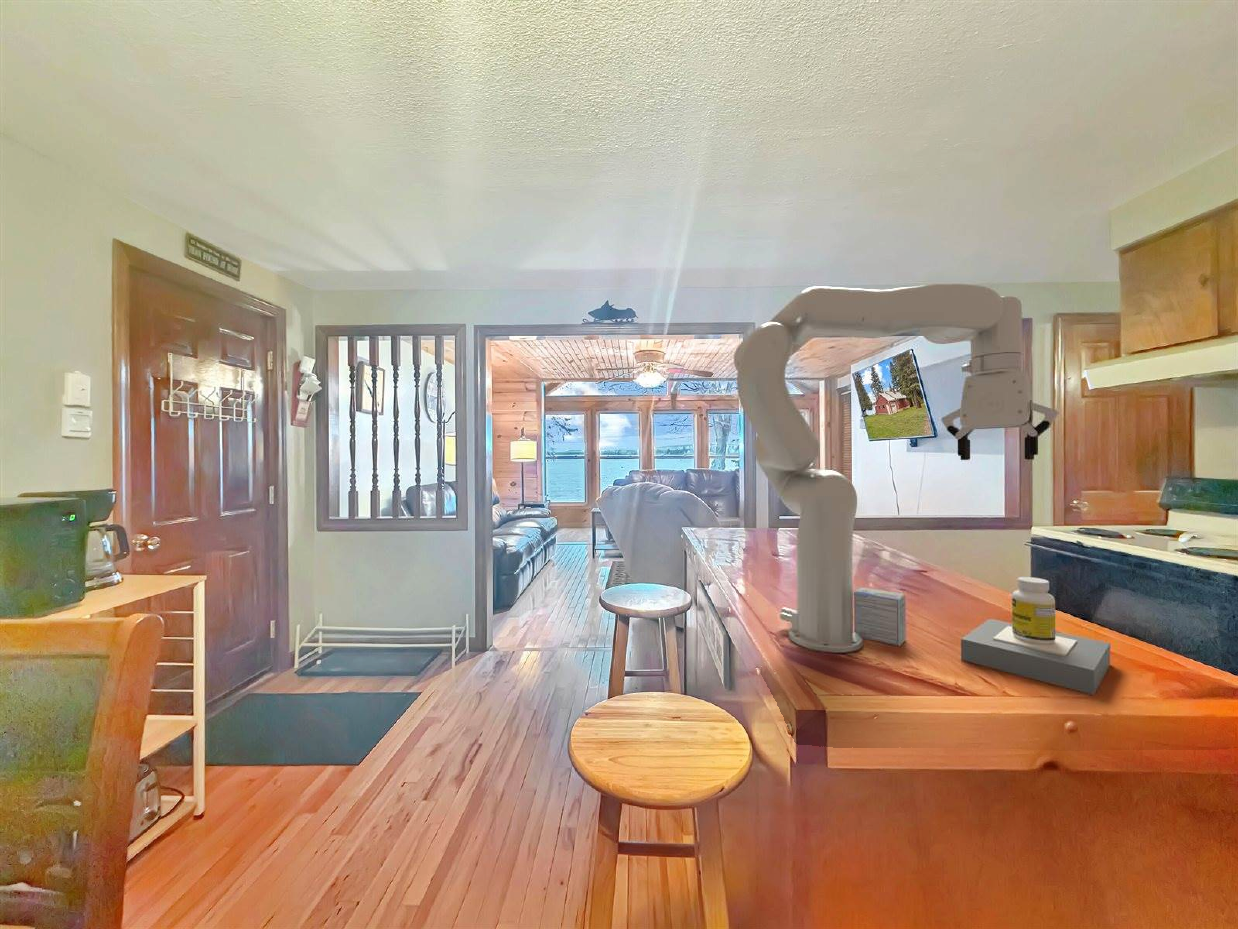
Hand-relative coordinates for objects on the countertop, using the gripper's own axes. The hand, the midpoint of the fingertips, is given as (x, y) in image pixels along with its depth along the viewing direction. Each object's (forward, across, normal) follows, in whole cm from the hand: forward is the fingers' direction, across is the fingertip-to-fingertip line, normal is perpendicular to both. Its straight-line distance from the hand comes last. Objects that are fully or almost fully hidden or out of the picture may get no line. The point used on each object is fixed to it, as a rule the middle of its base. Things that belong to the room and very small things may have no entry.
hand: (996, 459), depth 90 cm
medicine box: (+34, -14, -16) cm, 40 cm away
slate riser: (+33, +7, -8) cm, 35 cm away
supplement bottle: (+30, +7, -8) cm, 32 cm away
